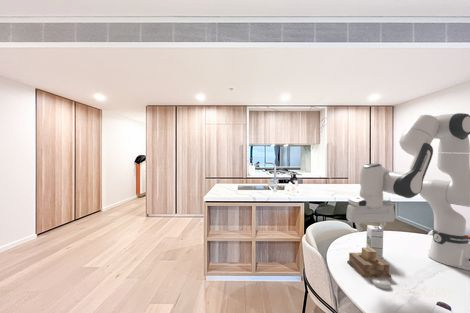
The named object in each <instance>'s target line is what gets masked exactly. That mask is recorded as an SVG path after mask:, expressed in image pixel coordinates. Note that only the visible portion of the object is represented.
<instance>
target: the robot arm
mask: <svg viewBox="0 0 470 313" xmlns="http://www.w3.org/2000/svg"><path fill="white" fill-rule="evenodd" d="M469 136H470V114H468V113H464V112H462V113H461V112H459V113H458V112H457V113H449V114H448V113H447V114H440V115H434V116H433V115H431V114H422V115H418V116H417V117H416V118H415V119H413V120H412V122H411V123H410V124H408V126H407V127H406V129H405V130H404V131H403V133H402V134H401V136H400V138H399V141H398V142H399V146H400V147H401V149H402V151H404V152H405V153H407V154H408V155H410V156H413V159H412V161H411V163H410V165H409V168H408V170H406V171H403V172H399V171H392V170H388V169H386V167H385V168H384V167H383V165H382V164H381V163H376V162H375V163H368V164H363V165H362V166H361V170H360V174H359V175H360V176H359V185H360V190H359V194H358V195H355V196H352V197H349V198H348V200H347V201H348V203H349V204H348V205H347V208H346V220H348V221H349V222H351V223H354V225H355V227H356V231H357V232H358V233H363V230H364V229H363V227H361V224H362V223H380V224H379V225H378V226H379V227H378V229H377V230H378V231H379V232H383V233H384V228H385V227H386V225H387V223H391V222H392V223H393V222H394V221H395V219H396V214H395V204H394V202H393V201H392V200H391V199H390V200H389V199H388V200H386V199H385V200H384V193H388V194H392V195H397V196H400V197H402V198H405V199H412V198H414V197H416V196H418V195H420V196H421V197H422V198H423V199H424V200H425V201H426V202H427V203H428V204H429V206H430V207H431V209H432V212H433V228H432V233H431V234H432V238H431V242H430V247H429V249H428V254H427V255H428V257H429V258H430V259H432V260H433V261H435V262H438V263H441V264H443V265H447V266H450V267H455V268H459V269H462V270H465V271H470V242H469V240H470V234H466V231H467V230H466V229H467V228H466V226H467V221H466V218H465V216H464V215H462V214H461V213H460V212H458V211H456V210H455V209H453V207H452V205H456V206H462V207H466V208H470V138H469ZM436 139H437V140H439V144H438V148H437V164H436V166H437V169H438V170H440V172H442V173H444V174H446V175H448V176H449V177H450V178H451V180H441V179H426V180H425V176H426V174H427V171H428V168H429V166H430V163H431V160H432V158H433V154H434V147H433V146H432V145H431V143H432V142H433V140H436Z"/></svg>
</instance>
